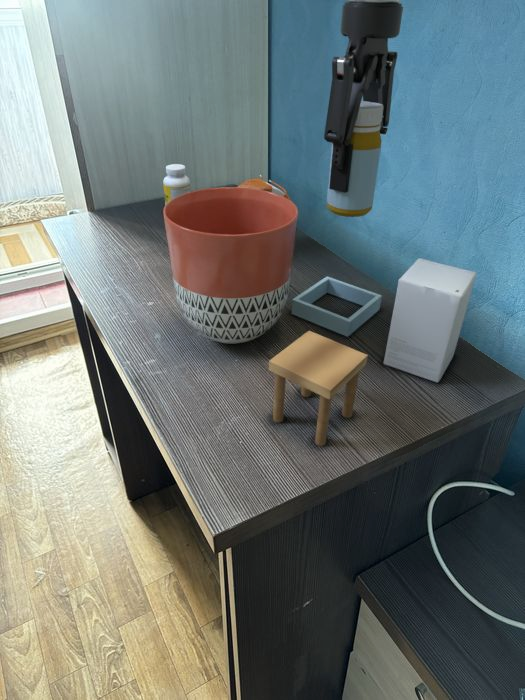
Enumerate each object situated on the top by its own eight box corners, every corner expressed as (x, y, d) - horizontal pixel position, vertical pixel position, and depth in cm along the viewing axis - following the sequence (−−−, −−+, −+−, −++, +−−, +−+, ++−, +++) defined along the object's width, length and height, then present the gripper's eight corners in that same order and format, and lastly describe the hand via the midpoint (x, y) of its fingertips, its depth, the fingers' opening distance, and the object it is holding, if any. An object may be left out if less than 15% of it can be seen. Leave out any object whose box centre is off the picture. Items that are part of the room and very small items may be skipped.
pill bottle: (172, 207, 135) (168, 161, 128) (195, 210, 133) (193, 164, 127) (161, 216, 129) (157, 169, 123) (185, 219, 128) (182, 171, 121)
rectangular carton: (455, 355, 83) (480, 271, 75) (438, 384, 77) (463, 296, 68) (401, 337, 87) (418, 255, 79) (381, 364, 81) (397, 278, 72)
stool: (357, 413, 71) (368, 354, 66) (323, 450, 66) (330, 390, 60) (303, 387, 76) (308, 330, 70) (266, 420, 70) (268, 360, 64)
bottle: (317, 210, 80) (325, 104, 71) (342, 199, 84) (353, 98, 76) (355, 221, 76) (369, 111, 68) (379, 209, 81) (396, 104, 72)
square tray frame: (379, 309, 95) (382, 295, 93) (347, 337, 87) (349, 322, 85) (325, 290, 100) (327, 276, 98) (291, 313, 93) (292, 299, 91)
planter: (313, 330, 88) (324, 207, 76) (236, 383, 76) (235, 248, 64) (230, 292, 99) (228, 179, 86) (150, 334, 86) (134, 209, 74)
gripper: (383, -1, 73) (362, 165, 86) (303, -1, 60) (293, 194, 73) (433, 1, 69) (403, 174, 83) (360, 1, 56) (338, 206, 70)
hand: (351, 183), depth 78 cm, fingers closed on bottle, 7 cm apart
